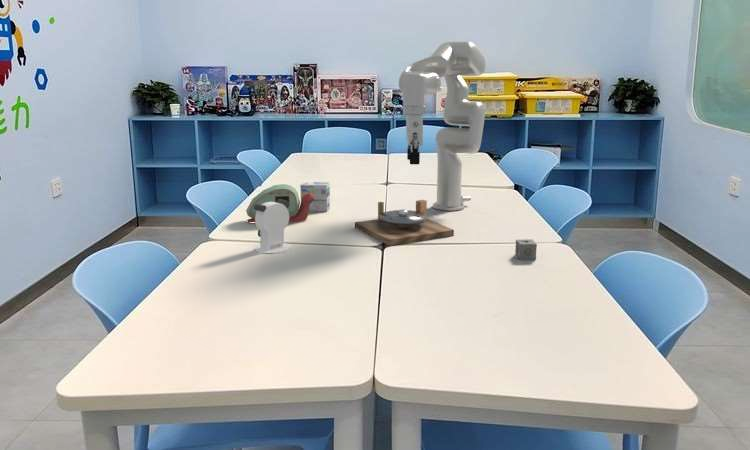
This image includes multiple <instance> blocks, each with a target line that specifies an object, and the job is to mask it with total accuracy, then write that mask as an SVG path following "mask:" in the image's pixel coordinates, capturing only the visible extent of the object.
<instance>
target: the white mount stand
mask: <svg viewBox="0 0 750 450" xmlns="http://www.w3.org/2000/svg"><path fill="white" fill-rule="evenodd" d="M288 207H289V202H288V201H287V200H282V199H278V200H277V203H275V202H266V203H264V204H262V205H260V204H255V206H254V210H257V211H256V216H255V223H254V224H255V226H256V228H257V229H258V231H257V236H258V237H259V238H260V243H259V244H258V245H256V246H255V247H254V251H255V250H256V251H258V252H257V253H259V252H262V253H261V254H264V253H277V254H282V253H281V252H283V253H286V252H288V251H290V250H291V249H290V248H292V246H291V244H289V243H286V242H285V240H284V239H285V229H286V228H287V227H288V224H289V223H290V222H289V212H288V210H287V208H288ZM288 222H289V223H288ZM289 249H290V250H289ZM287 250H288V251H287ZM256 251H255V252H256ZM285 251H286V252H285Z"/></svg>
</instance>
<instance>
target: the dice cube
mask: <svg viewBox="0 0 750 450" xmlns="http://www.w3.org/2000/svg"><path fill="white" fill-rule="evenodd" d="M537 246H538V244H537V243H536V242H535V241H534V239H515V250H514V251H515V253H514V256H515V257H516V256H517V257H516V258H517V259H518V261H536V260H537Z"/></svg>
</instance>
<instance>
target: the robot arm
mask: <svg viewBox="0 0 750 450" xmlns="http://www.w3.org/2000/svg"><path fill="white" fill-rule="evenodd" d="M486 64H487V63H486V58H485V56H484V55H483V52H482V51H481V50H480V49H479V47H477V45H475V43H473V42H471V41H445V42H443V43H441V44H440V45H439V46H438V47H437V48H436V50H435V51H434V52H433V53H432V54H431V55H430V56H428V57H425V58H423V59H420V60H417V61H415V62H413V63H411V64H409V65H408V66H407V67H406V68H405V69H404V70H403V71H402V72H401V74H400V75H399V79H398V88H399V90H400V92H401V93H402V116H404V117H405V134H406V136H405V137H406V138H405V139H406V144H407V151H406V153H407V155H406V157H407V158H406V159H407V160H408V161H409V164H410V165H420V163H421V162H420V158H421V153H420V147H422V146H423V145H424V128H423V127H424V121H423V117H425V116H426V98H427V97H426V96H427V95H429V96H430V95H434V94H437V93H438V92H439V90H440V89H441V85H442V81H441V78H442V77H444V80H445V83H446V96H445V101H444V103H445V104H444V109H443V121H444V123H446V124H447V125H451V126H459V127H443V128H441V129H439V130H438V131H437V132H436V134H435V147H436V153H437V171H436V172H437V173H436V174H437V175H436V179H437V180H436V201H435V202H434V203H432V208H433V209H435V210H439V211H446V212H447V211H449V212H451V211H460V210H463V209H464V208H465V204H464V203H465V202H470V201H471V200H472V197H471V196H470V195H468V196H464V195H462V174H463V173H462V172H463V163H462V160H461V157H460V156H459V155H458V154H467V155H472V154H473V155H474V154H477V153H478V152H479V150H480V148H481V144H482V138H483V133H484V132H483V131H484V125H485V117H486V110H485V106H484V104H483V103H482V102H481V101H477V100H475V101H474V100H469V95H470V87H469V86H468V83H467V82H466V81H465V79H464V78H463V77H479V76H482V75H483V73H484V72H485V69H486ZM462 76H463V77H462ZM460 126H461V127H460ZM462 127H464V128H462ZM465 127H469V128H465Z"/></svg>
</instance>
